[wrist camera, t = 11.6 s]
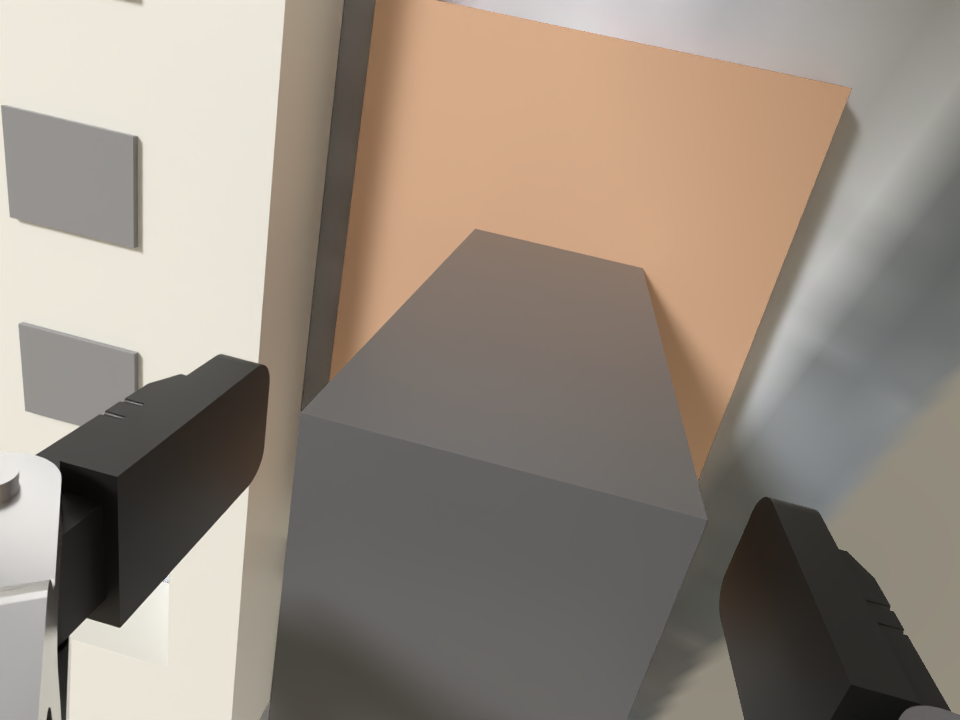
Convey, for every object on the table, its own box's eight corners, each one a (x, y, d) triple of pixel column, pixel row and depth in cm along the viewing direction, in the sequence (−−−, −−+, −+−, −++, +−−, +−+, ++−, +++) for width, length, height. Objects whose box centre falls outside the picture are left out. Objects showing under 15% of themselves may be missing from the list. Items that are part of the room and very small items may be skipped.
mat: (387, -7, 15) (377, -13, 14) (838, 88, 14) (852, 88, 13) (322, 503, 20) (311, 518, 20) (644, 592, 20) (646, 611, 19)
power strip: (-42, -377, 14) (-213, -503, 11) (376, -303, 13) (312, -418, 10) (40, 631, 25) (-34, 702, 22) (269, 700, 24) (224, 783, 21)
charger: (474, 228, 16) (299, 412, 6) (642, 267, 15) (708, 519, 6) (438, 412, 18) (265, 756, 8) (587, 451, 17) (573, 850, 8)
